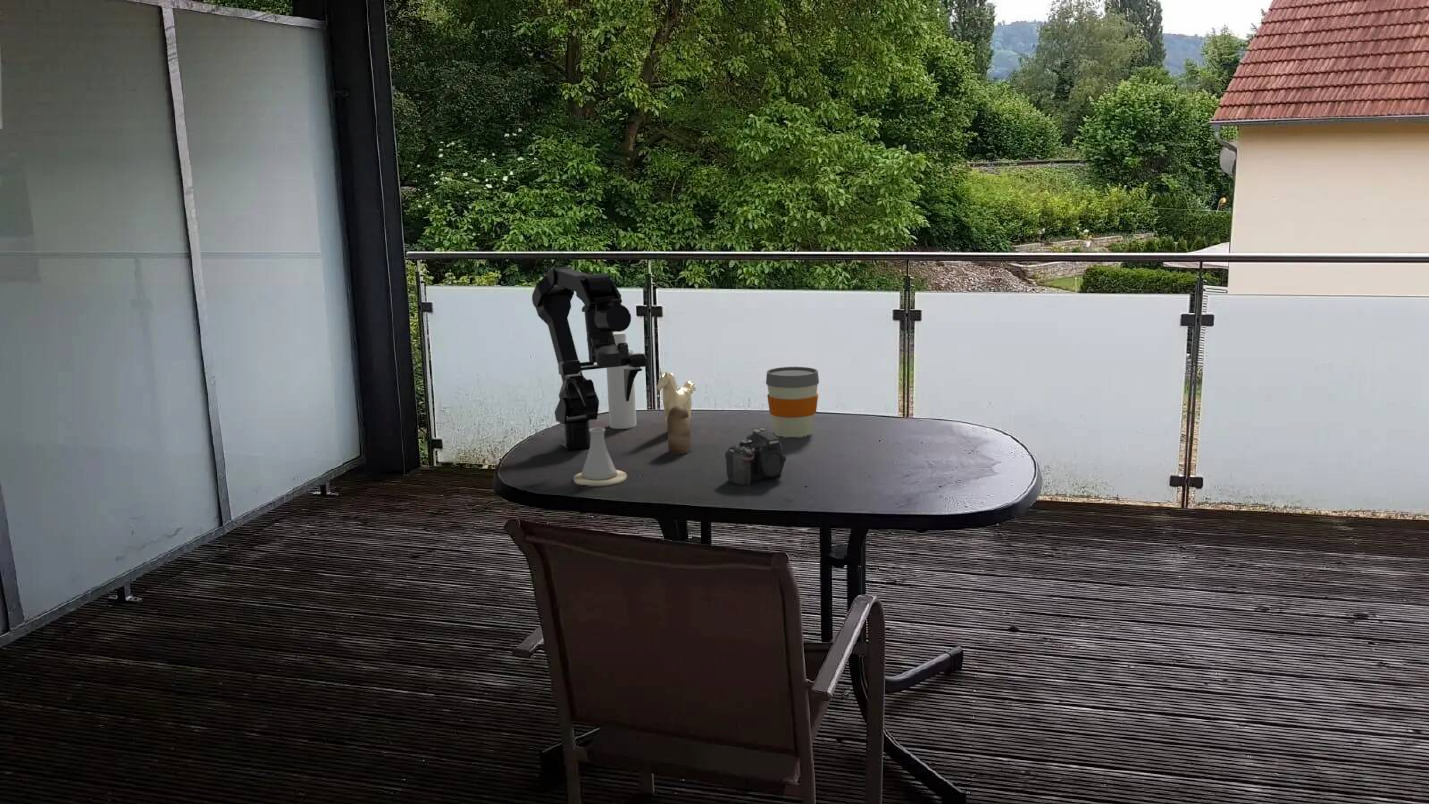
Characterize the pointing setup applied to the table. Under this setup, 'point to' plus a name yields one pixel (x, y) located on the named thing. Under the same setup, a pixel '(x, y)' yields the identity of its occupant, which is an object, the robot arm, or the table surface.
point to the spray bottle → (620, 394)
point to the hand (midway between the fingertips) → (606, 403)
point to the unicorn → (675, 393)
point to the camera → (755, 458)
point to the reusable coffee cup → (792, 400)
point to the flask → (598, 458)
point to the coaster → (601, 480)
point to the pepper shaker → (678, 430)
